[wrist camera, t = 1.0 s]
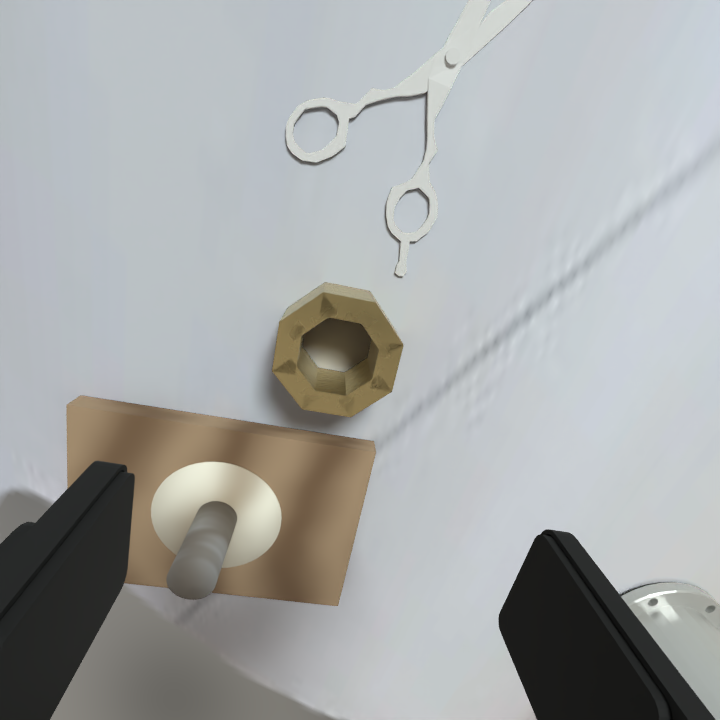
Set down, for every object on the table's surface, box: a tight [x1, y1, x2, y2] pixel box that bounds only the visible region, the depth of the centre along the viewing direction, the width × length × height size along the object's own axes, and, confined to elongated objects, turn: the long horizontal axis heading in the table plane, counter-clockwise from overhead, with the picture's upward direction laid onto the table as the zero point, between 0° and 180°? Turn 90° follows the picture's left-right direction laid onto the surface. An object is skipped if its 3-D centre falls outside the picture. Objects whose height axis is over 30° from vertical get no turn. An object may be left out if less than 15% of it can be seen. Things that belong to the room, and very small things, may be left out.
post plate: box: [67, 396, 376, 606], centre depth 27 cm, size 20×14×7 cm
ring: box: [272, 282, 403, 417], centre depth 25 cm, size 7×7×4 cm
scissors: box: [286, 0, 532, 276], centre depth 23 cm, size 11×1×20 cm
